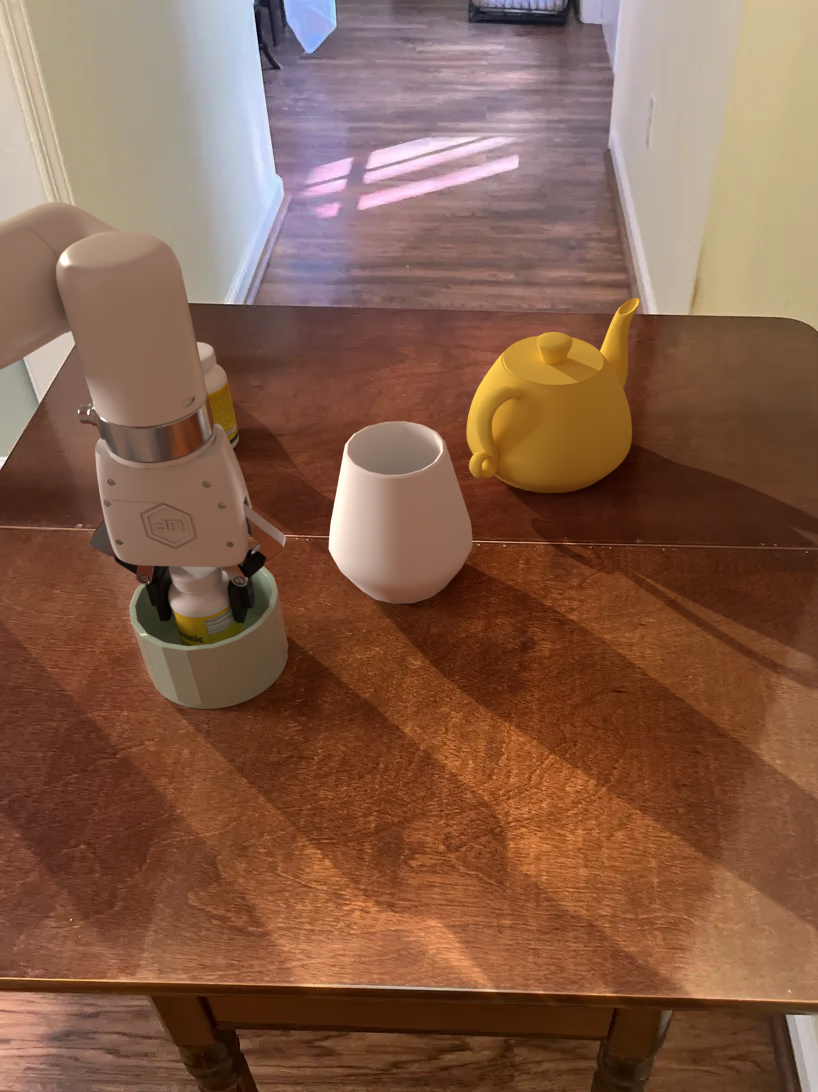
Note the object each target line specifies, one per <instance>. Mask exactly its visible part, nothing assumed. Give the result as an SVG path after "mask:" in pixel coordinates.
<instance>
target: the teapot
mask: <svg viewBox="0 0 818 1092" xmlns="http://www.w3.org/2000/svg"><path fill="white" fill-rule="evenodd" d="M639 305H640V298H638V297H632V298H629V299H628V300H626V301H625V302H624V303H622V304H621V305H620V306H619V308H618V309H617V310H616V312H615V314H614V316H613V317H612V320H611V322H610V324H609V327H608V330H607V332H606V334H605V337H604V340H603V343H602V345H601V348H600V350H599V349H598V348H597V347H596V346H594V345H592V344H591V343H589V342H587V341H585V340H582V339H579V338H575V337H572V336H570V335H569V334H566V333H563V332H560V331H559V332H558V331H549V332H544V333H542V334H540V335H536V336H535V335H534V336H530V337H526V338H523V339H520V340H518V341H516V342H514V343H513V344H511V345H510V346H508V347H507V348H506V349H505V350H504V351H503V352H502V353H501V354H500V355H499V356H498V358H497V359H496V360H495V361H494V363H493V364H492V365H491V367H490V368H489V370H488V371H487V372H486V374H485V376H484V377H483V379H482V381H481V382H480V383H479V386H478V387H477V389H476V392H475V394H474V396H473V398H472V401H471V404H470V408H469V411H468V415H467V422H466V433H465V434H466V441H467V444H468V447H469V450H470V452H471V453H472V456H471V458H470V460H469V463H468V469H469V471H470V474H471V475H472V476H473V477H474V478H476V479H480V480H487V479H491V478H493V477H495V478H496V479H498V480H499V481H501V482H503V483H505V484H507V485H508V486H511V487H514V488H516V489H521V490H523V491H528V492H534V493H541V494H563V493H570V492H575V491H578V490H579V491H580V490H582V489H585V488H587V487H590V486H592V485H594V484H596V483H598V482H599V481H600V480H602V479H604V478H606V476H608V475H609V474H611V473H612V472H613V471H615V470H616V469H617V468H618V467H619V466H620V465H621V464H623V462H624V461H625V459H626V457H627V455H628V454H629V452H630V450H631V447H632V441H633V440H632V438H633V425H632V415H631V408H630V405H629V402H628V398H627V396H626V393H625V390H624V388H625V386H626V383H627V378H628V374H629V373H628V372H629V346H628V345H629V344H628V343H629V331H630V326H631V324H632V320H633V318H634V316H635V314H636V312H637V310H638V308H639Z"/></svg>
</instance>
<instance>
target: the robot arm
mask: <svg viewBox="0 0 818 1092" xmlns="http://www.w3.org/2000/svg"><path fill="white" fill-rule="evenodd" d="M70 332H71V336H72V338H73V341H74V344H75V348H76V351H77V354H78V357H79V361H80V364H81V368H82V370H83V375H84V377H85V381H86V384H87V387H88V390H89V394H90V397H91V400H92V402H90V403H89V404H86V403H85V404H83V403H81V404H79V406H78V410H77V413H78V415H77V416H78V420H79V422H80V423H81V424H83V425H91V426H93V427H96V428H97V429H98V432H99V435H100V438H99V439H98V440H97V442H96V443H95V446H94V455H95V468H96V469H95V471H96V478H97V479H96V480H97V484H98V485H97V486H98V492H99V498H100V504H101V508H102V513H103V519H102V521H101V522H100V523H99V524H98V526H97V527H96V528H95V529H94V531H93V533H92V536H91V538H90V539H89V544H90V546H91V547H93V548H94V549H96V550H97V551H100V552H101V553H103V554H105V555H106V556H108V557H110V558H111V557H112V558H113V559H114V561H115V562H116V564H118V565H120V566H121V567H123V568H125V569H126V570H127V571H129V572H131V573H132V574H134V575H135V579H136V581H137V583H139V584H140V585H141V584H145V586H146V589H147V592H148V595H149V599H150V602H151V605H152V606H156V609H157V612H158V615H159V619H160V621H166V622H167V621H168V620H170V619H171V616H172V610H171V607H170V603H169V600H168V591H169V587H170V585H171V583H172V580H171V576H170V572H169V566H183V567H223V569H224V570H225V572H226V573H227V575H228V576H229V578H230V580H229V583H228V587H227V591H228V596H229V600H230V604H231V608H232V613H233V617H234V621H236V622H237V623H244V621H245V618H246V614H247V611H248V608H250V609H253V607H254V604H255V592H254V587H253V582H252V576H253V575H254V574H255V573H256V572H258V571H259V570H260V569H261V568H262V567H263V566H264V567H265V564H266V563H267V562H268V561H271V560H272V559H273V558H275V557H276V556H278V555H279V554H280V553H281V552H283V551H284V548H285V544H286V540H287V537H286V535H285V534H284V533H283V532H281V531H280V529H278V528H276V527H275V526H274V525H273V524H271V523H270V522H269V521H267V520H266V519H265V518H264V517H263V516H261V515H260V514H259V513H258V512H256V511H255V510H254V509H253V506H252V502H251V499H250V495H249V491H248V488H247V485H246V481H245V477H244V475H243V471H242V468H241V465H240V463H239V460H238V458H237V455H236V453H235V451H234V448H232V446H231V443H230V441H229V439H228V437H227V435H226V433H225V431H224V429H223V428H222V426H221V425H219V424H214V422H213V417H212V412H211V407H210V403H209V398H208V393H207V389H206V385H205V380H204V375H203V370H202V366H201V361H200V356H199V351H198V346H197V343H196V342H197V338H196V334H195V328H194V324H193V319H192V314H191V310H190V305H189V300H188V295H187V291H186V287H185V281H184V277H183V272H182V267H181V265H180V261H179V259H178V257H177V255H176V254H175V251H174V250H173V249H172V248H171V247H170V245H169V244H167V243H166V242H165V241H163V240H162V239H160V238H158V237H156V236H155V235H151V234H149V233H144V232H138V231H121V230H119V229H117V228H115V227H113V226H112V225H110V224H108V223H107V222H106V221H105V222H104V220H101V219H100V218H97V217H96V216H95V215H93V214H92V213H89V212H88V211H86V210H84V209H82V208H80V207H78V206H75V205H74V204H73V205H72V204H70V203H67V202H62V201H51V202H49V201H48V202H43V203H40V204H37V205H35V206H32V207H29V208H26V209H25V210H22V211H21V212H19V213H16V214H14V215H11V216H10V217H8V218H5V219H3V220H1V221H0V370H3V369H5V368H8V367H9V366H10V365H13V364H15V363H16V362H18V361H21V360H22V359H24V358H26V357H27V356H30V355H31V354H32V353H34V352H35V351H37V350H39V349H40V348H43V347H44V346H45V345H47V344H49V343H50V342H52V341H54V340H56V339H57V338H60V337H61V336H62V335H64V334H67V333H70ZM249 536H250V537H251V538H252V539H254V540H255V541H257V543H255V544H254V545H252V547H251V548H249Z"/></svg>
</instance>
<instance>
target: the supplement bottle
mask: <svg viewBox="0 0 818 1092" xmlns="http://www.w3.org/2000/svg"><path fill="white" fill-rule="evenodd" d="M169 572H170V576H171V580H172V583H171V585H170V587H169V591H168V600H169V603H170V607H171V610H172V614H173V617H174V620H175V623H176V627H177V630H178V634H179V637H180V640H181V644H182V645H183V646H196V645H206V644H214V643H217V642H220V641H223V640H226V639H229V638H232V637H234V636H237V635H239V634H240V633H242V632H243V631H245V626H244V623H237V622H236V621H234V617H233V613H232V608H231V604H230V600H229V596H228V591H227V587H228V583H229V580H230V578H229V576H228V575H227V573H226V572H225V571H223V570H222V567H183V566H169Z"/></svg>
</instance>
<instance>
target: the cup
mask: <svg viewBox="0 0 818 1092" xmlns="http://www.w3.org/2000/svg"><path fill="white" fill-rule="evenodd" d="M329 528H330V529H329V539H328V551H329V553H330V555H331V557H332V559H333V561H334V562H335V564H336V566H337V568H338V570H339V571H340V572H341V573H342V574H343V575H344V576H345V577H346V578H347V579H348V580H349V581H350V582H351V583H352V584H354V585H355V587H357V588H358V589H359V590H361V591H362V592H363V593H365V594H366V595H368V596H369V597H370V598H372V599H374V600H375V601H379V602H384V603H387V604H392V605H402V604H403V605H404V604H415V603H418V602H421V601H425V600H428V599H431V598H432V597H434V596H436V595H437V594H438V593H440V592H441V591H442V590H444V589H445V588H446V587H447V586H448V584H449V583H450V582H452V580H453V579H454V578H455V576H456V575H457V574H458V573H459V572H460V571H461V569H462V568H463V566H464V564H465V563H466V561H467V560H468V557H469V556H470V554H471V552H472V549H473V546H474V544H473V543H474V541H473V531H472V522H471V517H470V515H469V512H468V508H467V506H466V502H465V500H464V496H463V493H462V490H461V487H460V484H459V481H458V478H457V475H456V472H455V468H454V465H453V461H452V459H451V456H450V453H449V450H448V446H447V443H446V441H445V440H444V439H443V437H442V436H441V435H440V434H439V432H438V431H436V430H434V429H433V428H430V427H428V426H426V425H424V424H421V423H415V422H412V421H411V422H410V421H405V420H402V421H401V420H399V421H383V422H380V423H375V424H372V425H367V426H366V427H364V428H361V429H360V430H359V431H357V432H354V433H353V434H352V436H350V438H349V439H348V440H347V442H346V443H345V444H344V449H343V454H342V460H341V466H340V472H339V476H338V482H337V487H336V493H335V498H334V503H333V509H332V515H331V520H330V525H329Z"/></svg>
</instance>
